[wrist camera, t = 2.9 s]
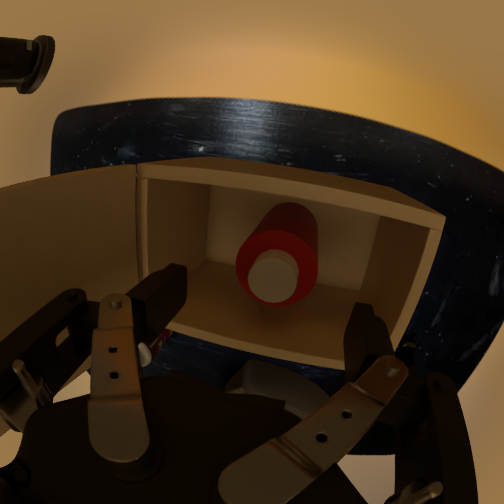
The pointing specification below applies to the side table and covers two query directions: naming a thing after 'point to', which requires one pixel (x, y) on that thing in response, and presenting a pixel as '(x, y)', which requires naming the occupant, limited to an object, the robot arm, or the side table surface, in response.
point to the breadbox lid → (66, 243)
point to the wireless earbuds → (407, 353)
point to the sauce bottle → (280, 256)
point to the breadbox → (329, 252)
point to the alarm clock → (278, 386)
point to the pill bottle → (153, 347)
